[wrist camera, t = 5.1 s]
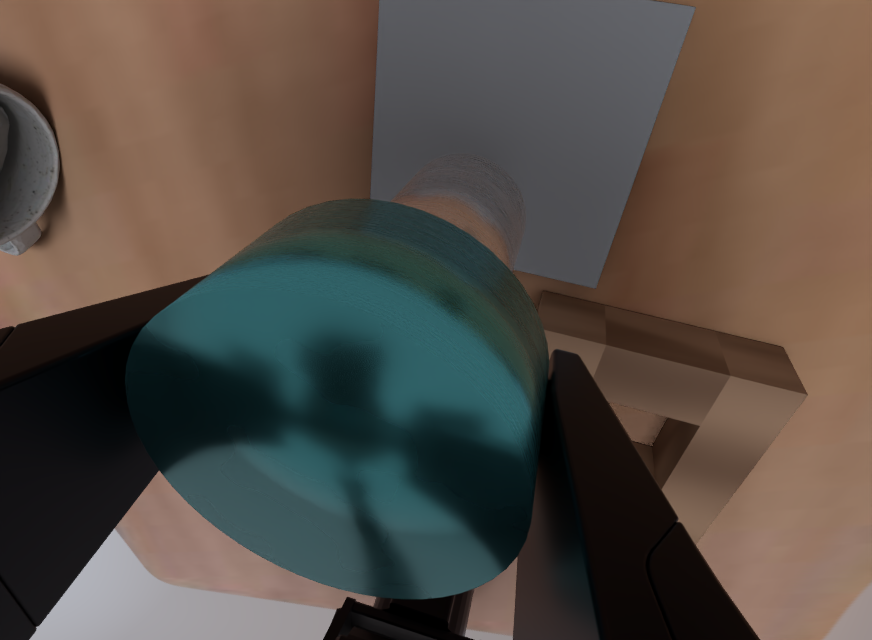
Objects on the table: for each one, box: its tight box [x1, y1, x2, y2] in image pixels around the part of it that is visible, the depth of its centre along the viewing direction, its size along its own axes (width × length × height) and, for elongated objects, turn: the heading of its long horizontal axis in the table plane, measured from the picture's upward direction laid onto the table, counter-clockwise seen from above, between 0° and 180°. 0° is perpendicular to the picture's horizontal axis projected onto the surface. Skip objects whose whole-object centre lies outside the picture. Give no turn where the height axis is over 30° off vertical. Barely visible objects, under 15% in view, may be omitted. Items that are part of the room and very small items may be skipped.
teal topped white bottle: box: [125, 153, 549, 599], centre depth 10 cm, size 5×5×8 cm
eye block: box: [537, 291, 808, 545], centre depth 23 cm, size 10×10×3 cm
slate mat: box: [370, 0, 696, 289], centre depth 19 cm, size 10×10×1 cm
